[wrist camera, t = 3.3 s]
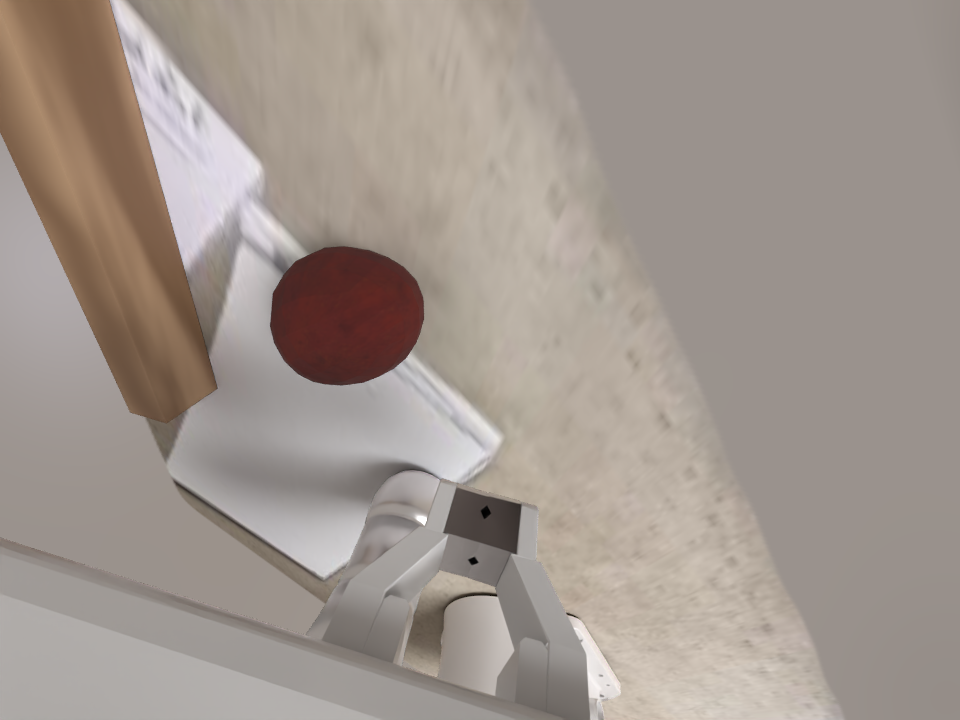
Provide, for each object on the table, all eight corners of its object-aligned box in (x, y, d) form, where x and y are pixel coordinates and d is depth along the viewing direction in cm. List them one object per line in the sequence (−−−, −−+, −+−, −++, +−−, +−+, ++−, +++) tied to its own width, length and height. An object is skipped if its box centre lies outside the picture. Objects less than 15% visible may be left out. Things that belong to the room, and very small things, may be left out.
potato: (463, 322, 22) (425, 385, 16) (361, 362, 25) (299, 426, 19) (400, 205, 19) (328, 231, 13) (295, 267, 23) (199, 309, 17)
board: (107, -7, 17) (-24, -51, 13) (217, 388, 30) (166, 423, 26) (53, -18, 17) (-91, -64, 14) (185, 379, 30) (130, 412, 26)
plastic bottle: (373, 464, 31) (138, 849, 14) (441, 453, 28) (257, 903, 11) (407, 514, 33) (244, 889, 16) (472, 508, 31) (359, 940, 14)
